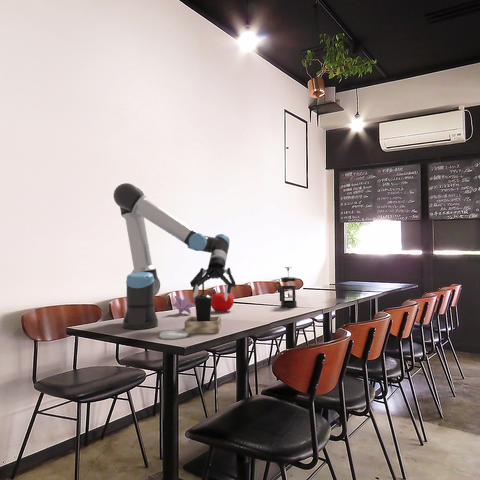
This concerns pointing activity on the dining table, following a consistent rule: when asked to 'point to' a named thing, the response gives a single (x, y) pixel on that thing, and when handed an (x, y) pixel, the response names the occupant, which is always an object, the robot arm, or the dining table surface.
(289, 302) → the french press
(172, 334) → the disc
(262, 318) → the dining table surface
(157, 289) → the robot arm
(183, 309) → the lily
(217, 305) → the tomato
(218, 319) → the crate
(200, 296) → the drinking cup
